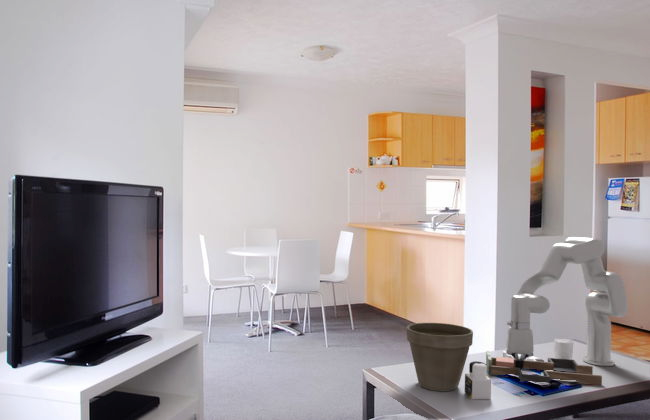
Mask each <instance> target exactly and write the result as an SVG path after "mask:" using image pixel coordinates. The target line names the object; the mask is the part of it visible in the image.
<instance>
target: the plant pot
mask: <svg viewBox="0 0 650 420" xmlns="http://www.w3.org/2000/svg"><path fill="white" fill-rule="evenodd" d="M473 337H474V331H473V330H472V329H471V328H469V327H465V326H463V325H458V324H452V323H443V322H440V323H439V322H417V323H412V324H408V325H407V326H406V340H407V341H408V342H409V345H410V351H411V355H412V361H413V364H414V369H415V373H416V377H417V381H418V384H419V386H420V387H422V388H425V389H426V390H429V391H430V390H431V391H436V392H451V391H456V390H457V389H458V387H459V386H460V382H461V378H462V376H463V371H464V368H465V365H466V361H467V357H468V353H469V351H470V347H471V346H473Z"/></svg>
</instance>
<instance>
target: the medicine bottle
mask: <svg viewBox="0 0 650 420" xmlns="http://www.w3.org/2000/svg"><path fill="white" fill-rule="evenodd" d="M468 369H469V370H468V373H464V393H465V394H466V395H467V397H469V398H470V400H472V401H473V400H477V401H478V400H480V401H481V400H491V399H492V379H491V378H489V377H488V376H487V375H488V371H487V365H486V363H485V362H483V361H477V360H476V361H472V362H470V363H469V368H468Z"/></svg>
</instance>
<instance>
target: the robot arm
mask: <svg viewBox="0 0 650 420" xmlns="http://www.w3.org/2000/svg"><path fill="white" fill-rule="evenodd" d="M604 253H605V244H604V242H603V241H602V240H601V239H599V238H595V237H583V236H582V237H581V236H570V237H567V238H566V239H565V241H564V242H558V243H555V244H553V245H552V247H551V248H550V250H549V251H548V254H547V256H546V258H545V260H544V262H543V264H542V265H541V268H540V269H539V270H538V271H537V272H535V273H533V275H531V276H530V277H528V278H527V279H526V280H525V281H524V282H523V283H522V284H521V286H520V288H519V290H518V292H517V294H516V295H513V296H512V297H511V300H510V301H511V303H510V320H509V321H507V322H506V325H507V326H510V327H508V329H507V338H506V350H505V351H506V353H507V354H508V355H512V356H513V357H514V358H515V359H516V362H515V367H517V368H520V369H521V371H523V369H522V368H523V366H524V360H525V359H526V358H527V357H531V356H534V357H535V354H534V335H533V334H534V333H533V330H532V329H531V314H539V315H540V314H545V313H547V311H549V309H550V301H549V299H548V298H547V297H545V296H543V295H539V294H535V293H536V292H537V291H538V289H540V288H542V287H544V286H546V285H551V284H553V283H557V282H558V281H559V280H560V279H561V276H562V274H563V273H564V271H565V270H566V268H567V265H568V264H571V265H572V264H573V265H580V266H581V269H582V274H583V279H584V283H585V287H586V289H589V290H590V291H594V292H590V293H589V294H587V296H586V297H585V309H586V310H585V311H586V313H587V328H586V329H587V330H586V332H587V336H586V355H585V356H583V357H582V361H583V362H584V363H587V364H590V365H592V366H593V365H594V366H599V367H611V366H612V367H613V366H614V365H615V361H614V360H612V359H611V358H612V357H611V356H612V354H611V353H612V322H611V319H610V318H609V317H613V318H622V317H624V316H626V315H627V313H628V311H629V303H628V297H627V292H626V286H625V281H624V279H623V278H622V276H621V275H620V274H619V273H617V272H614V271H607V270H605V268H604V264H603V261H602V257H601V256H603V254H604ZM518 354H521V358H520V359H519V358H518Z"/></svg>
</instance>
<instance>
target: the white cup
mask: <svg viewBox="0 0 650 420" xmlns="http://www.w3.org/2000/svg"><path fill="white" fill-rule="evenodd" d="M553 346H554V347H553V348H554V349H553V350H554V351H553V352H554V358H557V359H569V360H573V359H572V358H573V353H574V341H573V340H570V339H567V338H555V339H553Z"/></svg>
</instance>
